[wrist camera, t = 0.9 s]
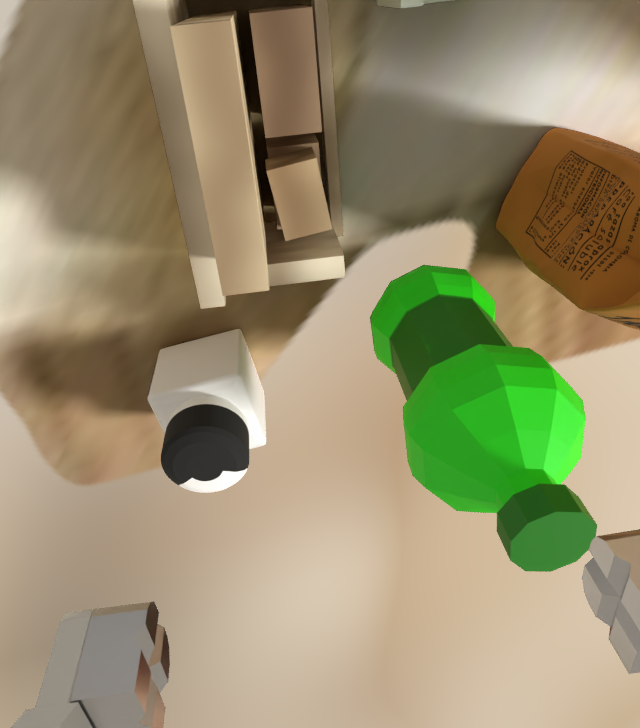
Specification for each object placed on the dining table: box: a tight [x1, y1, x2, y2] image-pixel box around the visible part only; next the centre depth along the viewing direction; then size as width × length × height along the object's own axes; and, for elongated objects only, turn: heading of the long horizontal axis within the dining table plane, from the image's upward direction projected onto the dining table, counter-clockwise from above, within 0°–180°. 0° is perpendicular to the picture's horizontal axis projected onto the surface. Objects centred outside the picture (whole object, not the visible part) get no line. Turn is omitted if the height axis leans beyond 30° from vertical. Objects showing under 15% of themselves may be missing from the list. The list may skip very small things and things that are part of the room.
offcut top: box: [265, 147, 332, 241], centre depth 36 cm, size 3×4×3 cm
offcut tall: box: [249, 4, 322, 138], centre depth 34 cm, size 3×6×8 cm, turn 5°
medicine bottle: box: [147, 329, 266, 493], centre depth 45 cm, size 7×7×12 cm
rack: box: [133, 0, 345, 309], centre depth 35 cm, size 10×18×10 cm, turn 5°
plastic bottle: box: [370, 265, 597, 571], centre depth 38 cm, size 10×11×25 cm
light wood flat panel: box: [170, 11, 269, 296], centre depth 33 cm, size 2×12×15 cm, turn 5°
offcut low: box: [266, 133, 322, 230], centre depth 39 cm, size 3×5×5 cm, turn 5°
